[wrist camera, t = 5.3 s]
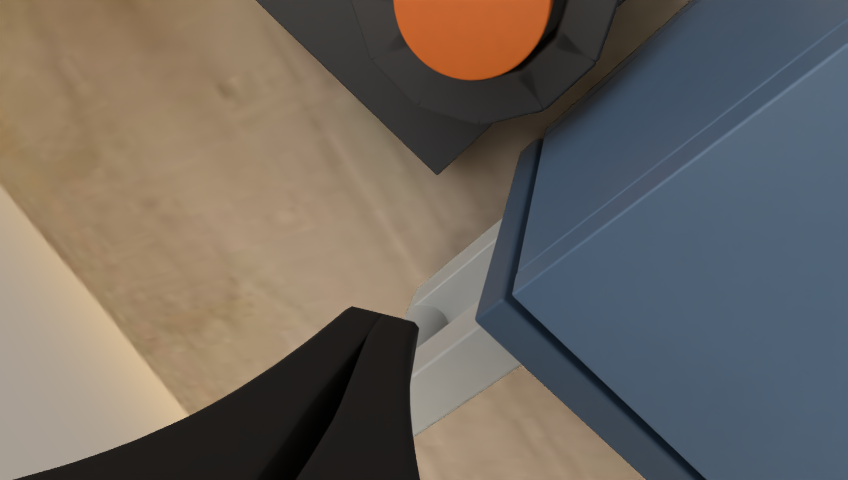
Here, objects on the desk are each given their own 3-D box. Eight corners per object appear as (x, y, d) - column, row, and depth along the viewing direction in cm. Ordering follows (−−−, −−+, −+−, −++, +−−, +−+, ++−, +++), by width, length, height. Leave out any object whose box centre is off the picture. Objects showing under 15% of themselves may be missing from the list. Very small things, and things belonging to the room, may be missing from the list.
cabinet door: (655, 492, 26) (682, 763, 18) (400, 257, 24) (301, 449, 16) (813, 416, 23) (928, 700, 15) (538, 136, 21) (501, 298, 13)
